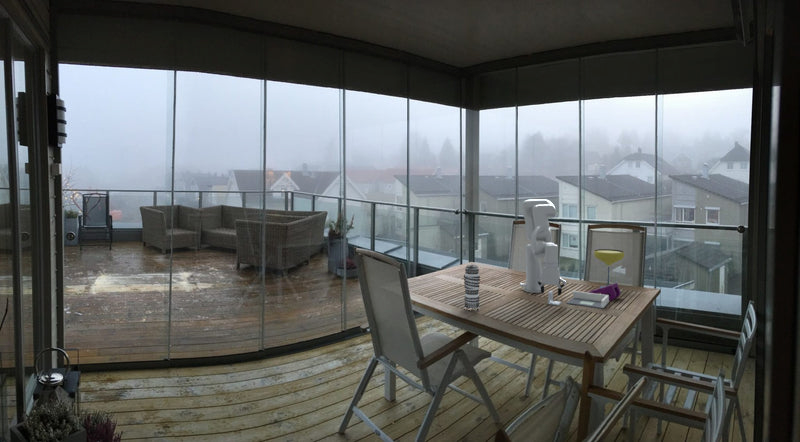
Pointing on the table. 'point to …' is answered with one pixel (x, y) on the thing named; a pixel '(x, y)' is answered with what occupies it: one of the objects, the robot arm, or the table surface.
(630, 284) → the table surface
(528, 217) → the robot arm
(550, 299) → the angle bracket
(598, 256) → the cocktail glass
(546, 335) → the table surface
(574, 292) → the tray
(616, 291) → the mounting bracket
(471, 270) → the decorative candle
